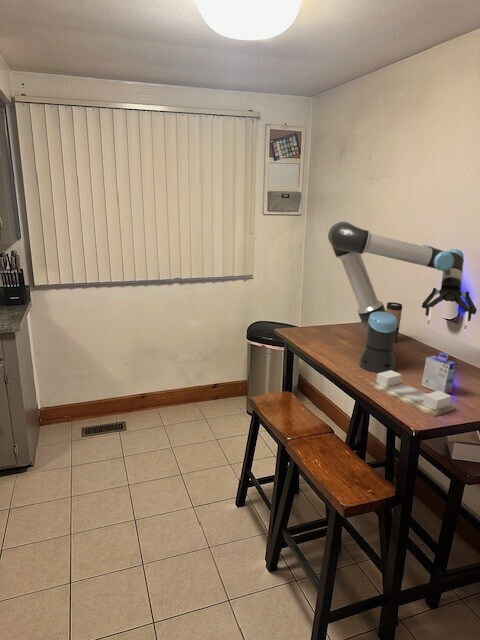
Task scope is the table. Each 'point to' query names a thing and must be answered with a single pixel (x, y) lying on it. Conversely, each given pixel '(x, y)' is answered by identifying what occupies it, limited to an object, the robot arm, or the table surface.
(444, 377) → the ink cartridge box
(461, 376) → the table surface
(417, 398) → the rail board
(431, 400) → the mounted modules
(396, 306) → the black tan cylinder
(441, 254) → the robot arm
